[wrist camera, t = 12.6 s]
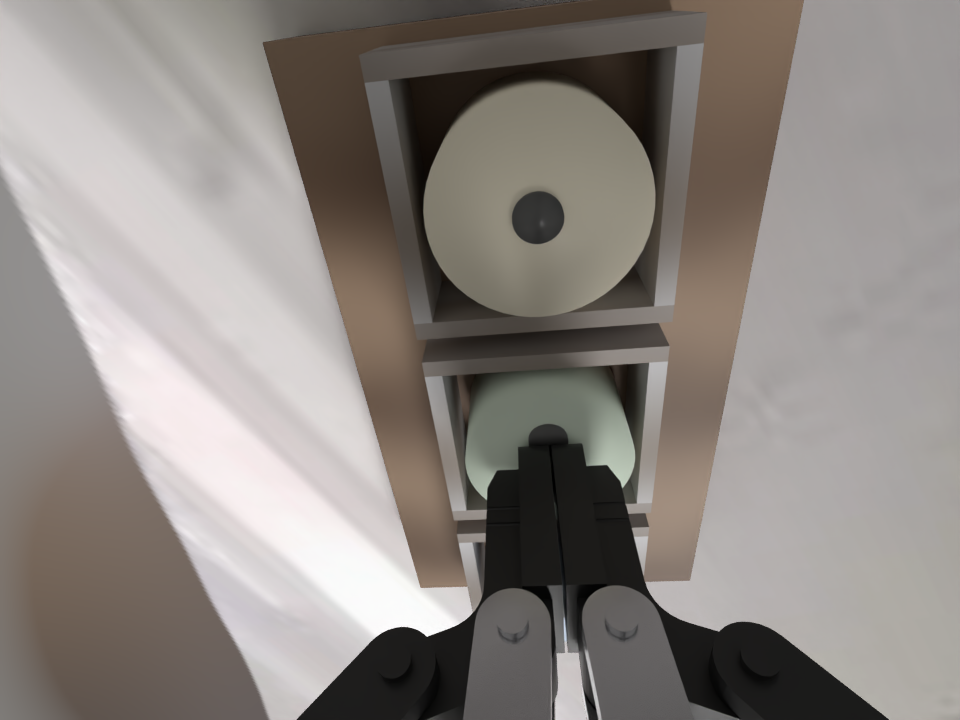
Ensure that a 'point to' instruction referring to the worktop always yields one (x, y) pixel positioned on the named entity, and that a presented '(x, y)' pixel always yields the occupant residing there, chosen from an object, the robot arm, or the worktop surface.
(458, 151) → the one-pip button
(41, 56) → the worktop surface
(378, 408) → the button panel
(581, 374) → the two-pip button
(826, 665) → the worktop surface
